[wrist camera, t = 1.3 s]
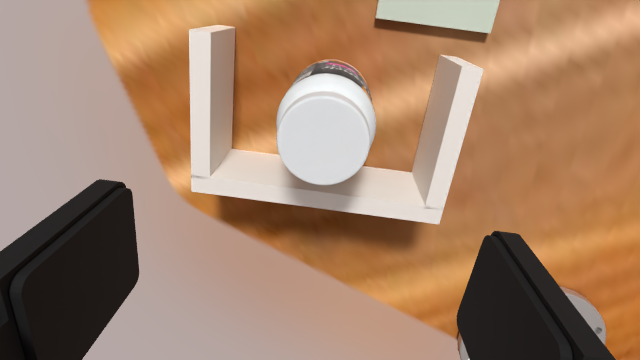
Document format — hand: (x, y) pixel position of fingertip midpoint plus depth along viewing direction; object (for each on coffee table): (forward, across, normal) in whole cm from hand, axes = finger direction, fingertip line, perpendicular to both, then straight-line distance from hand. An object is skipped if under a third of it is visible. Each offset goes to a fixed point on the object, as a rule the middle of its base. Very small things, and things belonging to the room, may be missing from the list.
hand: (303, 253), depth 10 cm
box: (+20, 0, +1) cm, 20 cm away
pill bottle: (+20, 0, 0) cm, 20 cm away
